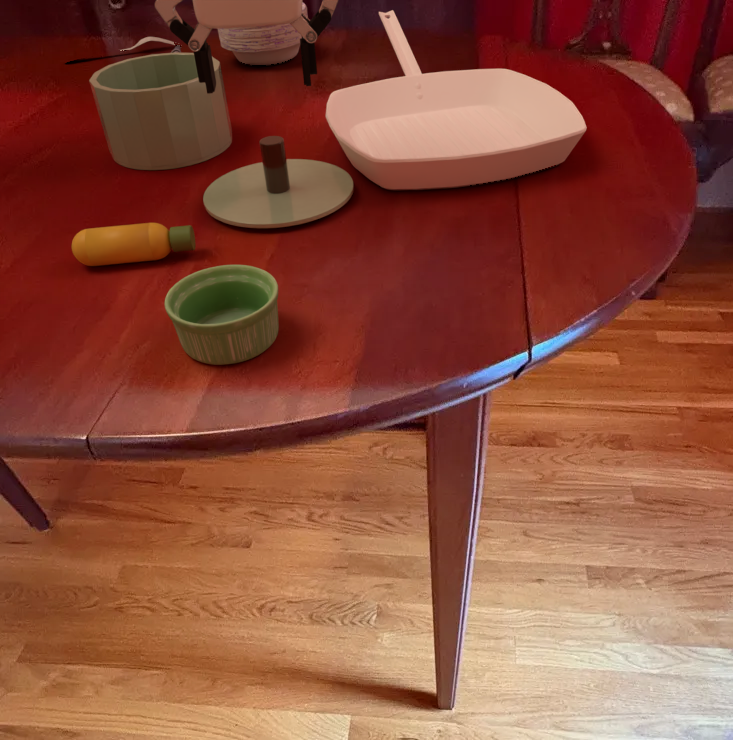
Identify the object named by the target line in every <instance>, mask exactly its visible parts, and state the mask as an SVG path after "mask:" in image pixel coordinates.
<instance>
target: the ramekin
mask: <svg viewBox="0 0 733 740" xmlns="http://www.w3.org/2000/svg"><path fill="white" fill-rule="evenodd" d="M278 298H279V285H278V282H277V280H276V278H275V277H274V276H273V275H272V274H271V273H270V272H268V271H266V270H264V269H262V268H260V267H256V266H253V265H247V264H223V265H216V266H212V267H208V268H203V269H201V270H198V271H195V272H193V273H191V274H188V275H187V276H185V277H183V278H181V279H180V280H179V281H176V283H175V284H174V285H173V286H172V287H171V288H169V290H168V292H167V293H166V296H165V298H164V309H165V312H166V314H167V315H168V317H169V319H170V320H171V322H172V324H173V327H174V330H175V332H176V335H177V337H178V340H179V343H180V345H181V347H182V350H183V351H184V352H185V353H186V355H187V356H189V357H190V358H191V359H193V360H195V361H198V362H200V363H204V364H208V365H214V366H215V365H217V366H224V365H225V366H227V365H232V364H238V363H239V364H240V363H242V362H246V361H248V360H252V359H253V358H255V357H257V356H259V355H261V354H263V353H264V352H265V351H267V350H268V349H269V348H270V347H271V346H272V345H273V344H274V342H275V341H276V339H277V337H278V335H279V328H280V327H279V325H280V324H279V308H278V307H279V306H278Z"/></svg>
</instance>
